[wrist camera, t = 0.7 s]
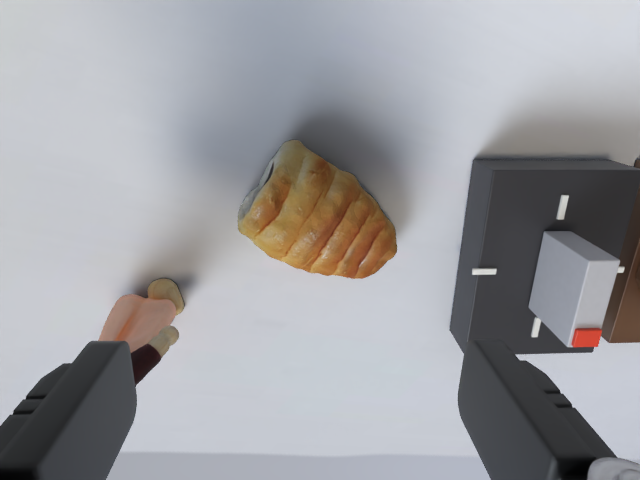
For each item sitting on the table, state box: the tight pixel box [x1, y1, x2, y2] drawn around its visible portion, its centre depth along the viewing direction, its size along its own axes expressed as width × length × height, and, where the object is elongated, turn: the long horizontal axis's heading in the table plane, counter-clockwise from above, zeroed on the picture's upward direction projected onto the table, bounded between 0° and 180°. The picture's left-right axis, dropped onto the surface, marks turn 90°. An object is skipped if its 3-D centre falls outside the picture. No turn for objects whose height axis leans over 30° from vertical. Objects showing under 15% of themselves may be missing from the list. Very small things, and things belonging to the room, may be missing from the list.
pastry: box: [238, 140, 397, 279], centre depth 25 cm, size 9×7×4 cm
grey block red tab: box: [528, 231, 620, 347], centre depth 24 cm, size 5×2×4 cm, turn 179°
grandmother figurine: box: [98, 278, 184, 387], centre depth 23 cm, size 8×4×13 cm, turn 135°
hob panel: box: [450, 160, 640, 354], centre depth 27 cm, size 12×9×3 cm
